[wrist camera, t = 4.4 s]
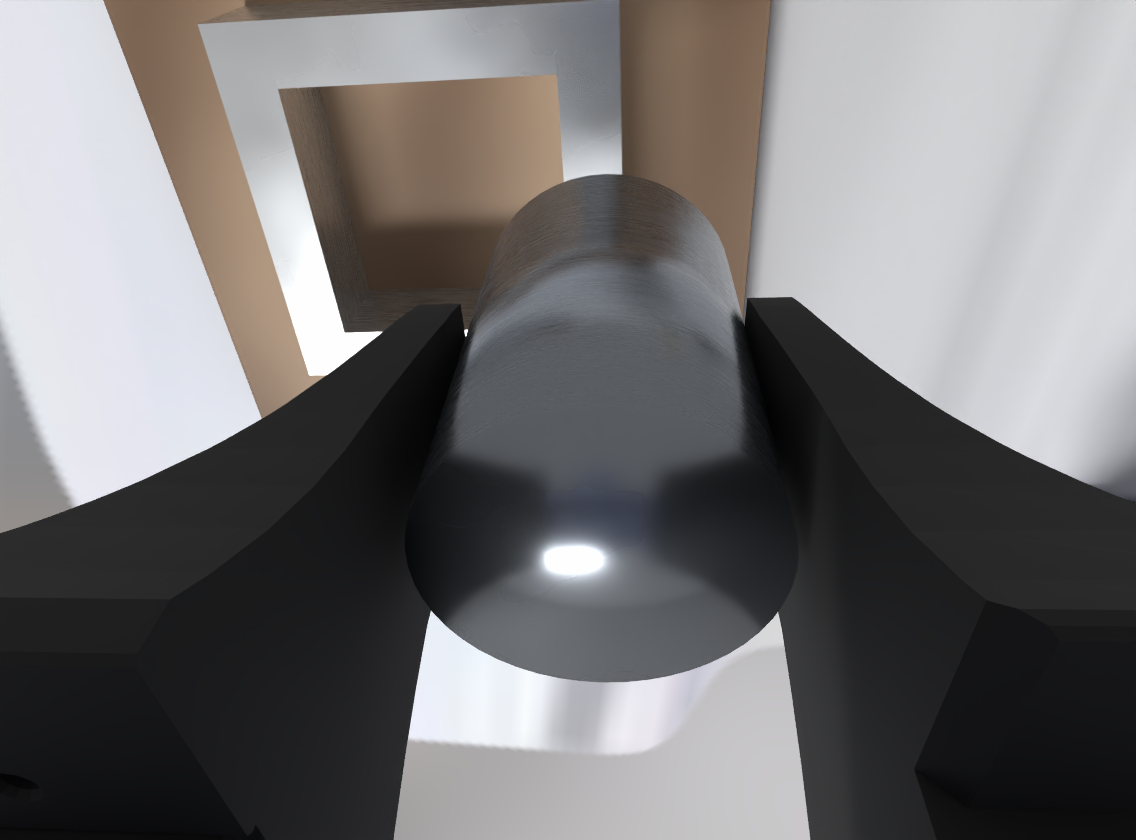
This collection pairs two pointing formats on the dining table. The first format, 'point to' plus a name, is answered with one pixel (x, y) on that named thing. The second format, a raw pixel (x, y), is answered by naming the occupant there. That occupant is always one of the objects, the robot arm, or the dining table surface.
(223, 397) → the dining table surface
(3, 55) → the dining table surface
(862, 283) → the dining table surface
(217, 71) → the socket collar
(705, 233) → the dark grey cylinder
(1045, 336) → the dining table surface
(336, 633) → the robot arm
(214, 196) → the dock board
